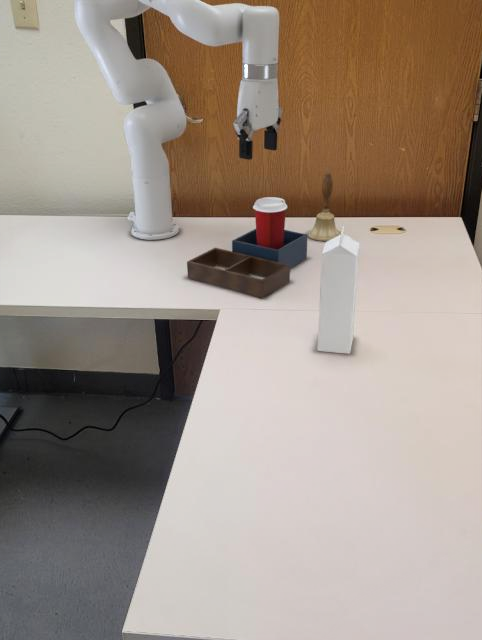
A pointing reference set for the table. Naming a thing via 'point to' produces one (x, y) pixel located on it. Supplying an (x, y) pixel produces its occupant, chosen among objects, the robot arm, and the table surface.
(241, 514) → the table surface
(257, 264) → the wooden divided tray
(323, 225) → the hand bell
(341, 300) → the milk
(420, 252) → the table surface
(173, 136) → the robot arm
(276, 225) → the paper cup
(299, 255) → the blue square tray
